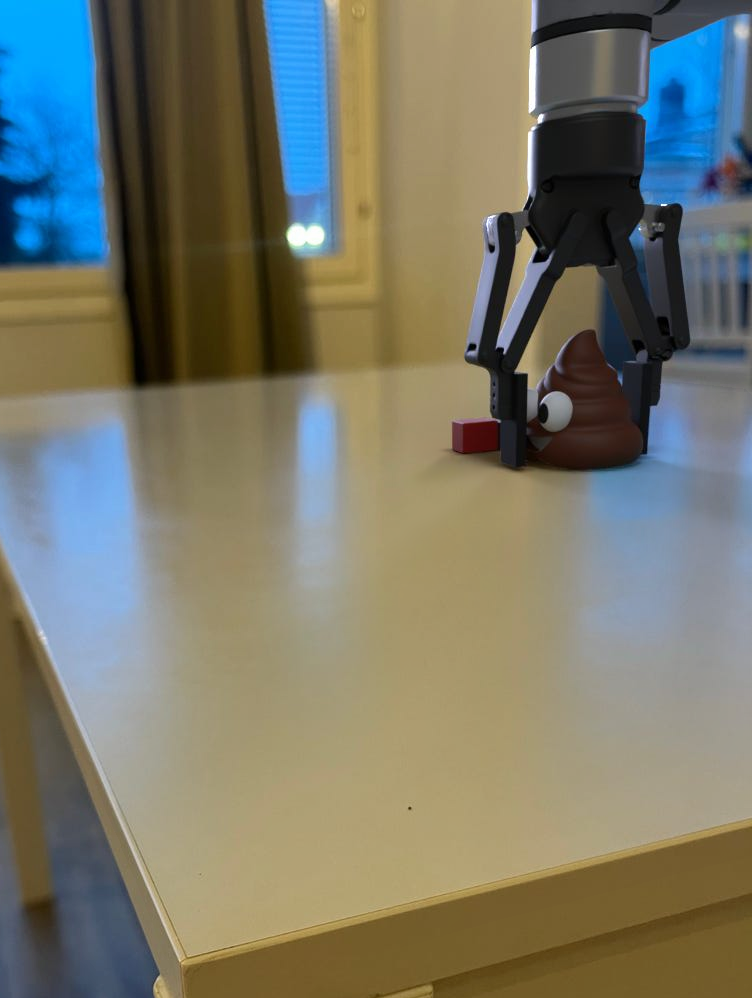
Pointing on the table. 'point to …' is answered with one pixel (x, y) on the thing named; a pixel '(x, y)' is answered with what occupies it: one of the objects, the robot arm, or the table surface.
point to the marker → (476, 435)
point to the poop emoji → (581, 412)
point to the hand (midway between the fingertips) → (573, 458)
